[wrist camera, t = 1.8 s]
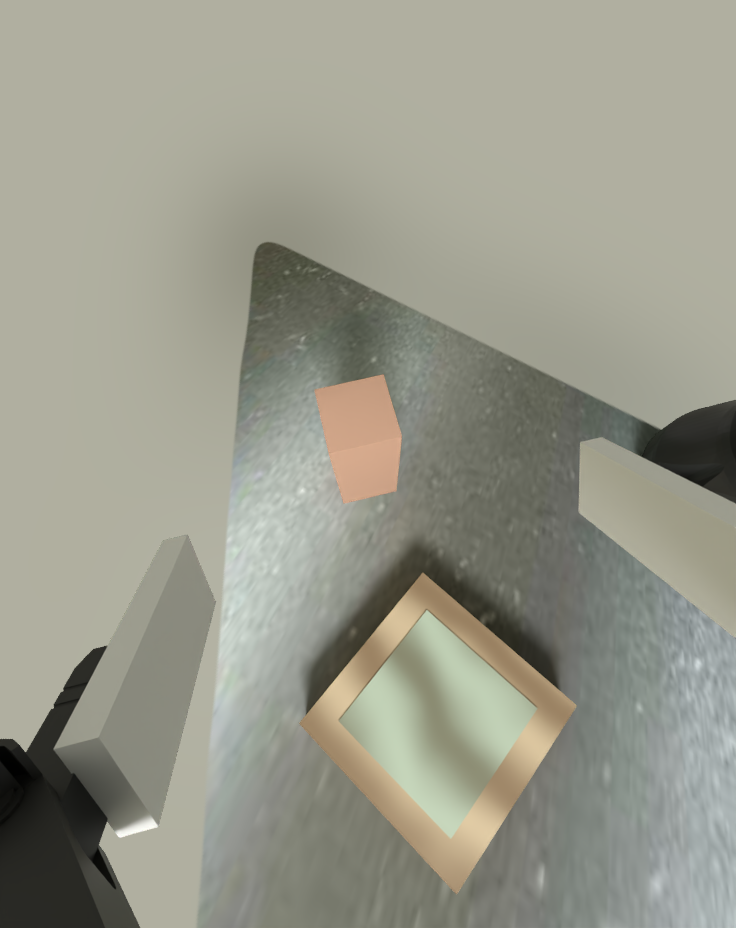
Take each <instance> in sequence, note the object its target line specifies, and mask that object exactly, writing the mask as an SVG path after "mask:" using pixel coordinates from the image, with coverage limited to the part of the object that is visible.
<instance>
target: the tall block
mask: <svg viewBox="0 0 736 928" xmlns="http://www.w3.org/2000/svg"><path fill="white" fill-rule="evenodd" d="M315 394H316V399H317V403H318V408H319V412H320V416H321V421H322V425H323V430H324V434H325V439H326V443H327V448H328V452H329V456H330V459H331V462H332V466H333V469H334V473H335V476H336V479H337V483H338V486H339V489H340V493H341V496H342V499H343V503H348V502H352V501H356V500H361V499H365V498H369V497H373V496H377V495H382V494H386V493H390V492H394V491H396V489H397V480H398V470H399V460H400V450H401V441H402V435H401V432H400V428H399V425H398V421H397V418H396V415H395V411H394V408H393V405H392V401H391V398H390V394H389V391H388V388H387V384H386V381H385V378H384V374H383V375H378V376H374V377H369V378H365V379H360V380H356V381H351V382H347V383H342V384H338V385H333V386H329V387H324V388H320V389H315Z"/></svg>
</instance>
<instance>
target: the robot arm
mask: <svg viewBox="0 0 736 928" xmlns="http://www.w3.org/2000/svg"><path fill="white" fill-rule="evenodd" d="M579 513H580V514H581V515H582V516H584V517H585V518H586V519H587V520H589V521H590V522H591V523H592V524H594V525H595V526H596V527H597V528H599V529H600V530H601V531H602V532H604V533H605V534H606V535H607V536H609V537H610V538H611V539H612V540H614V541H615V542H616V543H617V544H619V545H620V546H621V547H622V548H624V549H625V550H626V551H627V552H629V553H630V554H631V555H632V556H634V557H635V558H636V559H637V560H639V561H640V562H641V563H642V564H644V565H645V566H646V567H647V568H649V569H650V570H651V571H652V572H653V573H655V574H656V575H657V576H658V577H660V578H661V579H662V580H663V581H665V582H666V583H667V584H668V585H670V586H671V587H672V588H673V589H675V590H676V591H677V592H678V593H680V594H681V595H682V596H683V597H685V598H686V599H687V600H688V601H690V602H691V603H692V604H693V605H695V606H696V607H697V608H698V609H700V610H701V611H702V612H703V613H705V614H706V615H707V616H708V617H710V618H711V619H712V620H713V621H715V622H716V623H717V624H718V625H720V626H721V627H722V628H723V629H724V630H726V631H727V632H728V633H729V634H731V635H732V636H733V637H734V638H736V400H733V401H729V402H725V403H722V404H717V405H713V406H710V407H705V408H701V409H698V410H694V411H692V412H689V413H687V414H685V415H683V416H681V417H679V418H677V419H676V420H675V421H673V422H672V423H670V424H669V425H668V426H666V427H665V428H663V429H662V430H661V431H659V432H658V433H657V434H656V435H655V436H654V437H653V438H652V440H651V441H650V442H649V444H648V445H647V447H646V449H645V451H644V454H643V457H641V456H639V455H637V454H635V453H633V452H631V451H629V450H626V449H624V448H622V447H620V446H618V445H616V444H614V443H612V442H610V441H608V440H606V439H604V438H602V437H600V438H596V439H592V440H587V441H583V442H580V475H579ZM215 603H216V601H215V599H214V597H213V594H212V592H211V589H210V587H209V585H208V582H207V580H206V577H205V575H204V573H203V570H202V568H201V566H200V563H199V561H198V558H197V556H196V553H195V551H194V549H193V546H192V544H191V541H190V539H189V537H188V535H184V536H179V537H175V538H171V539H167V540H163V541H162V543H161V545H160V547H159V549H158V551H157V553H156V555H155V557H154V559H153V560H152V562H151V564H150V567H149V568H148V570H147V572H146V574H145V576H144V578H143V580H142V581H141V583H140V585H139V587H138V589H137V591H136V593H135V595H134V597H133V599H132V601H131V602H130V604H129V606H128V608H127V610H126V612H125V614H124V616H123V618H122V620H121V621H120V623H119V625H118V627H117V629H116V631H115V633H114V635H113V637H112V639H111V640H110V643H109V644H108V646H104V647H100V648H96V649H93V650H92V651H91V652H90V653H89V654H88V655H87V656H86V657H85V658H84V659H83V660H82V661H81V663H79V665H78V666H77V667H76V668H75V669H74V671H73V672H72V674H71V676H70V678H69V679H68V681H67V683H66V684H65V686H64V688H63V689H64V691H63V692H61V693H60V695H59V696H58V698H57V700H56V702H55V704H54V709H51V710H50V712H49V714H48V715H47V717H46V719H45V721H44V722H43V724H42V726H41V728H40V729H39V731H38V733H37V735H36V736H35V738H34V740H33V741H32V743H31V745H30V747H29V748H28V750H27V752H26V753H25V752H24V750H23V749H22V748H21V747H20V745H19V744H18V743H17V742H15V741H14V740H13V739H0V928H140V926H139V924H138V922H137V920H136V918H135V916H134V914H133V911H132V909H131V907H130V905H129V903H128V901H127V899H126V897H125V895H124V892H123V890H122V888H121V886H120V884H119V882H118V880H117V878H116V875H115V873H114V871H113V869H112V867H111V865H110V863H109V861H108V858H107V856H106V854H105V853H104V851H103V850H102V849H101V847H100V846H99V842H100V839H101V837H102V834H103V831H104V828H105V825H106V822H108V823H109V824H110V826H111V827H112V828H113V830H114V831H115V832H116V834H117V835H118V836H119V837H124V836H127V835H130V834H134V833H138V832H141V831H145V830H148V829H152V828H156V827H158V826H159V822H160V819H161V815H162V811H163V806H164V803H165V799H166V795H167V791H168V787H169V783H170V779H171V776H172V772H173V768H174V764H175V760H176V756H177V752H178V748H179V744H180V740H181V736H182V733H183V729H184V725H185V721H186V717H187V713H188V709H189V705H190V701H191V697H192V693H193V690H194V686H195V682H196V678H197V674H198V670H199V666H200V662H201V658H202V654H203V650H204V646H205V642H206V638H207V634H208V631H209V627H210V623H211V619H212V615H213V611H214V607H215Z"/></svg>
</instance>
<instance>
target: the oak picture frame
mask: <svg viewBox="0 0 736 928" xmlns="http://www.w3.org/2000/svg"><path fill="white" fill-rule="evenodd" d="M576 706H577V705H576V704H574V703H573V702H572V701H571V700H570V699H569V698H568V697H566V696H565V695H564V694H563V693H562V692H561V691H559V690H558V689H557V688H556V687H555V686H554V685H552V684H551V683H550V682H549V681H548V680H547V679H546V678H544V677H543V676H542V675H541V674H540V673H539V672H537V671H536V670H535V669H534V668H533V667H532V666H530V665H529V664H528V663H527V662H526V661H525V660H524V659H522V658H521V657H520V656H519V655H518V654H517V653H515V652H514V651H513V650H512V649H511V648H510V647H508V646H507V645H506V644H505V643H504V642H503V641H502V640H500V639H499V638H498V637H497V636H496V635H495V634H493V633H492V632H491V631H490V630H489V629H488V628H486V627H485V626H484V625H483V624H482V623H481V622H480V621H478V620H477V619H476V618H475V617H474V616H473V615H471V614H470V613H469V612H468V611H467V610H466V609H464V608H463V607H462V606H461V605H460V604H459V603H458V602H456V601H455V600H454V599H453V598H452V597H451V596H449V595H448V594H447V593H446V592H445V591H444V590H442V589H441V588H440V587H439V586H438V585H437V584H436V583H434V582H433V581H432V580H431V579H430V578H429V577H427V576H426V575H425V574H424V573H422V574H421V575H420V577H419V578H418V579H417V580H416V581H415V583H414V584H413V585H412V586H411V588H410V589H409V590H408V591H407V592H406V594H405V595H404V596H403V597H402V599H401V600H400V601H399V602H398V603H397V605H396V606H395V607H394V608H393V610H392V611H391V612H390V613H389V614H388V616H387V617H386V618H385V619H384V620H383V622H382V623H381V624H380V625H379V627H378V628H377V629H376V630H375V631H374V633H373V634H372V635H371V636H370V638H369V639H368V640H367V641H366V642H365V644H364V645H363V646H362V647H361V649H360V650H359V651H358V652H357V653H356V655H355V656H354V657H353V658H352V660H351V661H350V662H349V663H348V664H347V666H346V667H345V668H344V669H343V671H342V672H341V673H340V674H339V675H338V677H337V678H336V679H335V680H334V681H333V683H332V684H331V685H330V686H329V688H328V689H327V690H326V691H325V692H324V694H323V695H322V696H321V697H320V699H319V700H318V701H317V702H316V703H315V705H314V706H313V707H312V708H311V710H310V711H309V712H308V713H307V714H306V716H305V717H304V718H303V719H302V721H301V722H300V723H299V724H300V725H301V726H302V727H303V728H304V729H305V730H306V732H307V733H308V734H309V735H310V736H311V737H312V738H313V739H314V740H315V741H316V742H317V743H318V745H319V746H320V747H321V748H322V749H323V750H324V751H325V752H326V753H327V754H328V755H329V757H330V758H331V759H332V760H333V761H334V762H335V763H336V764H337V765H338V766H339V767H340V768H341V770H342V771H343V772H344V773H345V774H346V775H347V776H348V777H349V778H350V779H351V780H352V781H353V783H354V784H355V785H356V786H357V787H358V788H359V789H360V790H361V791H362V792H363V793H364V795H365V796H366V797H367V798H368V799H369V800H370V801H371V802H372V803H373V804H374V805H375V806H376V808H377V809H378V810H379V811H380V812H381V813H382V814H383V815H384V816H385V817H386V818H387V819H388V821H389V822H390V823H391V824H392V825H393V826H394V827H395V828H396V829H397V830H398V831H399V833H400V834H401V835H402V836H403V837H404V838H405V839H406V840H407V841H408V842H409V843H410V844H411V846H412V847H413V848H414V849H415V850H416V851H417V852H418V853H419V854H420V855H421V856H422V857H423V859H424V860H425V861H426V862H427V863H428V864H429V865H430V866H431V867H432V868H433V869H434V871H435V872H436V873H437V874H438V875H439V876H440V877H441V878H442V879H443V880H444V881H445V882H446V884H447V885H448V886H449V887H450V888H451V889H452V890H453V891H454V892H455V893H456V894H457V893H458V892H459V890H460V888H461V887H462V885H463V884H464V882H465V881H466V879H467V877H468V876H469V874H470V873H471V871H472V870H473V868H474V866H475V865H476V863H477V862H478V860H479V859H480V857H481V855H482V854H483V852H484V851H485V849H486V848H487V846H488V844H489V843H490V841H491V840H492V838H493V837H494V835H495V833H496V832H497V830H498V829H499V827H500V826H501V824H502V822H503V821H504V819H505V818H506V816H507V815H508V813H509V811H510V810H511V808H512V807H513V805H514V804H515V802H516V801H517V799H518V797H519V796H520V794H521V793H522V791H523V790H524V788H525V786H526V785H527V783H528V782H529V780H530V779H531V777H532V775H533V774H534V772H535V771H536V769H537V768H538V766H539V764H540V763H541V761H542V760H543V758H544V757H545V755H546V753H547V752H548V750H549V749H550V747H551V746H552V744H553V742H554V741H555V739H556V738H557V736H558V735H559V733H560V731H561V730H562V728H563V727H564V725H565V724H566V722H567V720H568V719H569V717H570V716H571V714H572V713H573V711H574V710H575V708H576Z"/></svg>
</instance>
